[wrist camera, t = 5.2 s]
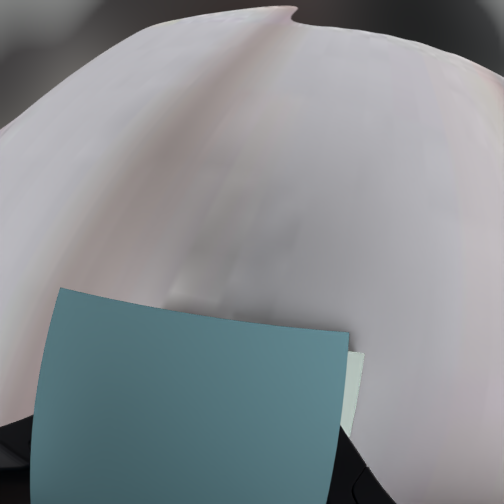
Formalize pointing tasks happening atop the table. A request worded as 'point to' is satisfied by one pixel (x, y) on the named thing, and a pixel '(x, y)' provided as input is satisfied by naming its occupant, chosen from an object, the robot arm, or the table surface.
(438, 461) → the table surface
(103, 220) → the table surface
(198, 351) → the teal pillar
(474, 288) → the table surface
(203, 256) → the table surface
